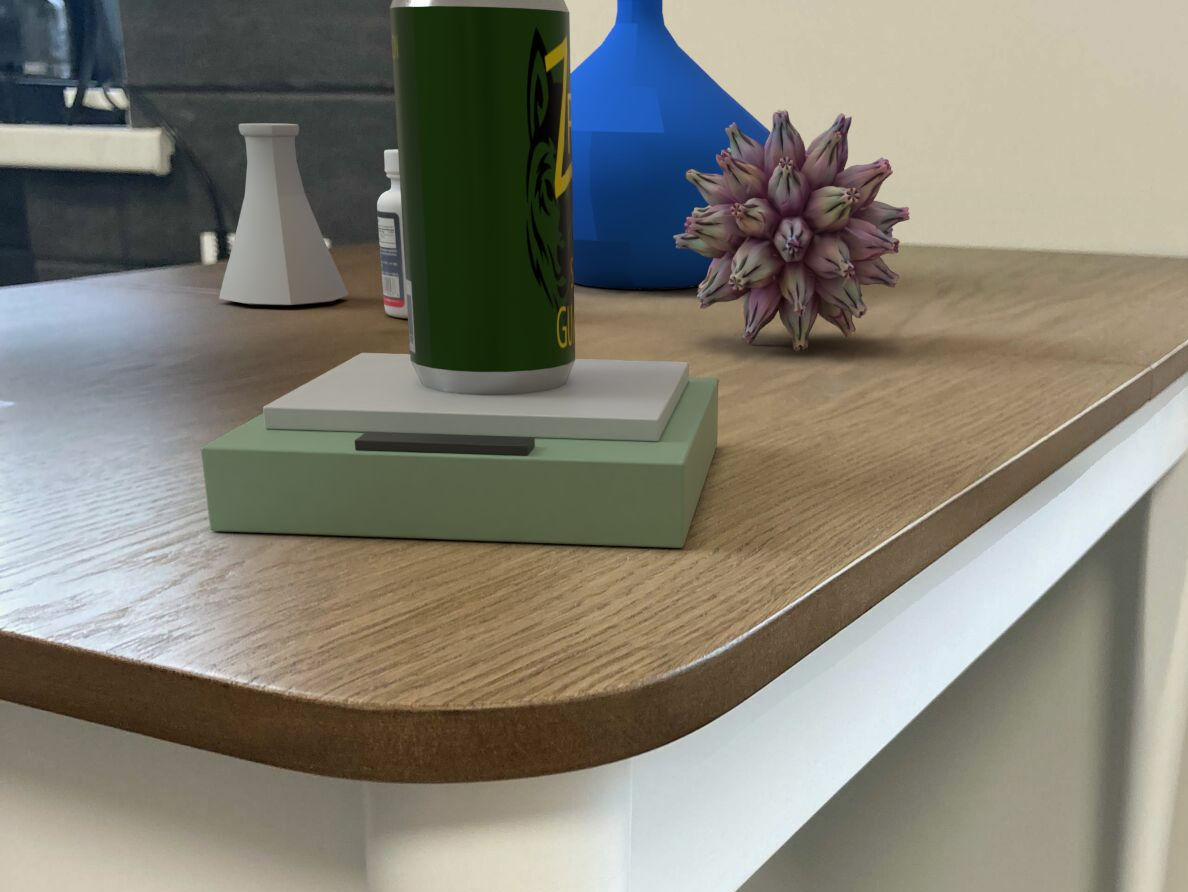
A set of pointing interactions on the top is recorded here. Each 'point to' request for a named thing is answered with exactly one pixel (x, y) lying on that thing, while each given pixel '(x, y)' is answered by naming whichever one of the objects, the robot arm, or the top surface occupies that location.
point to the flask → (278, 230)
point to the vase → (644, 153)
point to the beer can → (486, 191)
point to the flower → (792, 229)
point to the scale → (472, 457)
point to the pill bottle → (392, 241)
